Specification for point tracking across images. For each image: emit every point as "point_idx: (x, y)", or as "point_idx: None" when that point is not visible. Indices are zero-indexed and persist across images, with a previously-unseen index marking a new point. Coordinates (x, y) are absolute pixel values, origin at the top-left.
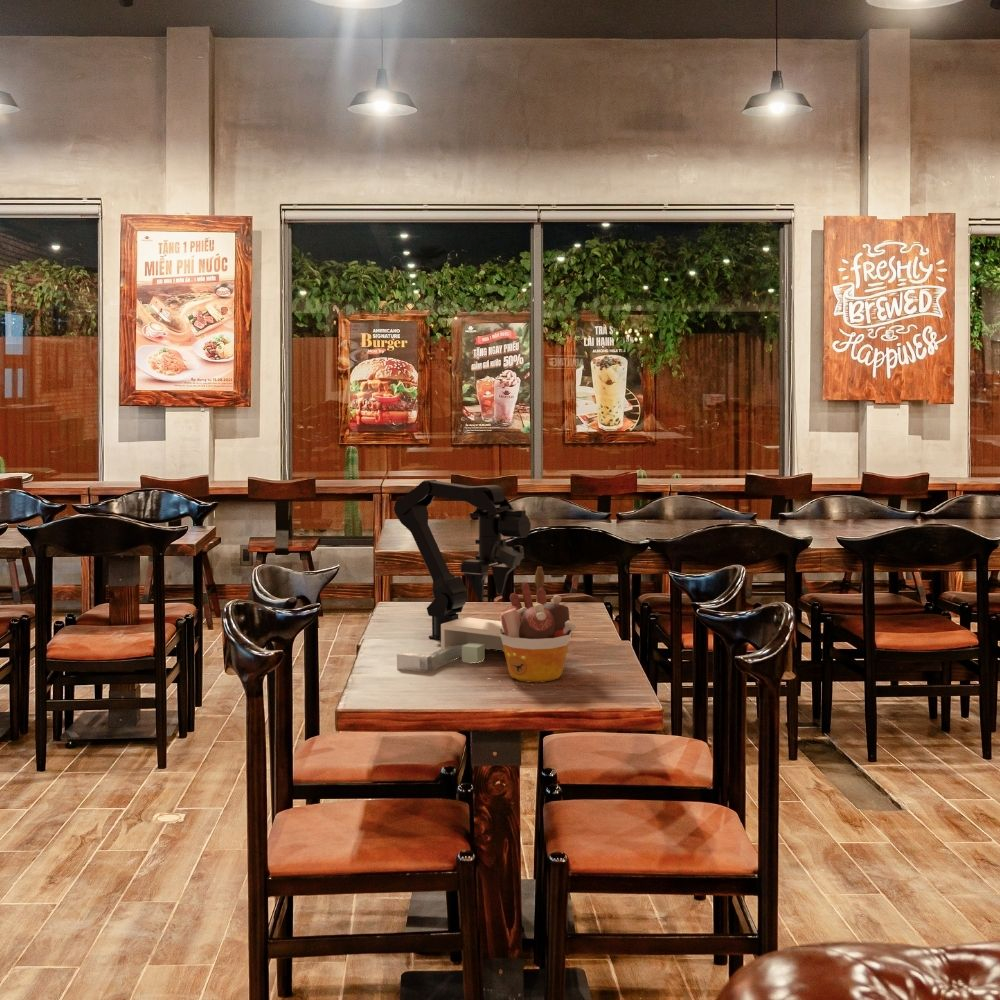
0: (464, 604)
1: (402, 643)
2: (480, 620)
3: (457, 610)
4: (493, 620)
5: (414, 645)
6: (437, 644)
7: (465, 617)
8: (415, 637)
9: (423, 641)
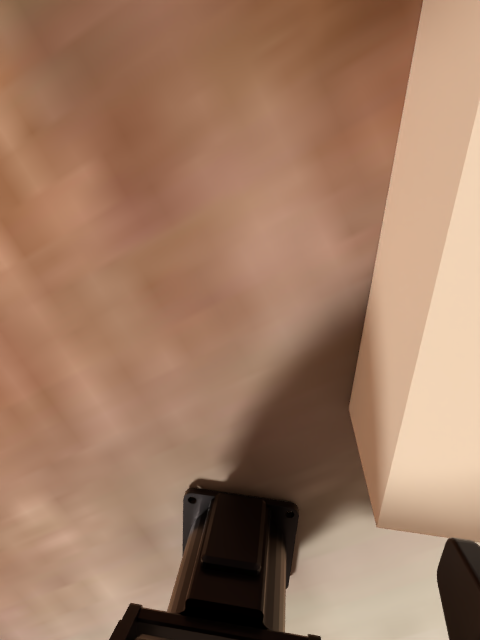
0: (136, 638)
1: (412, 627)
2: (477, 379)
3: (159, 626)
4: (441, 277)
5: (433, 582)
6: None
7: (393, 518)
8: (287, 622)
9: (344, 578)
